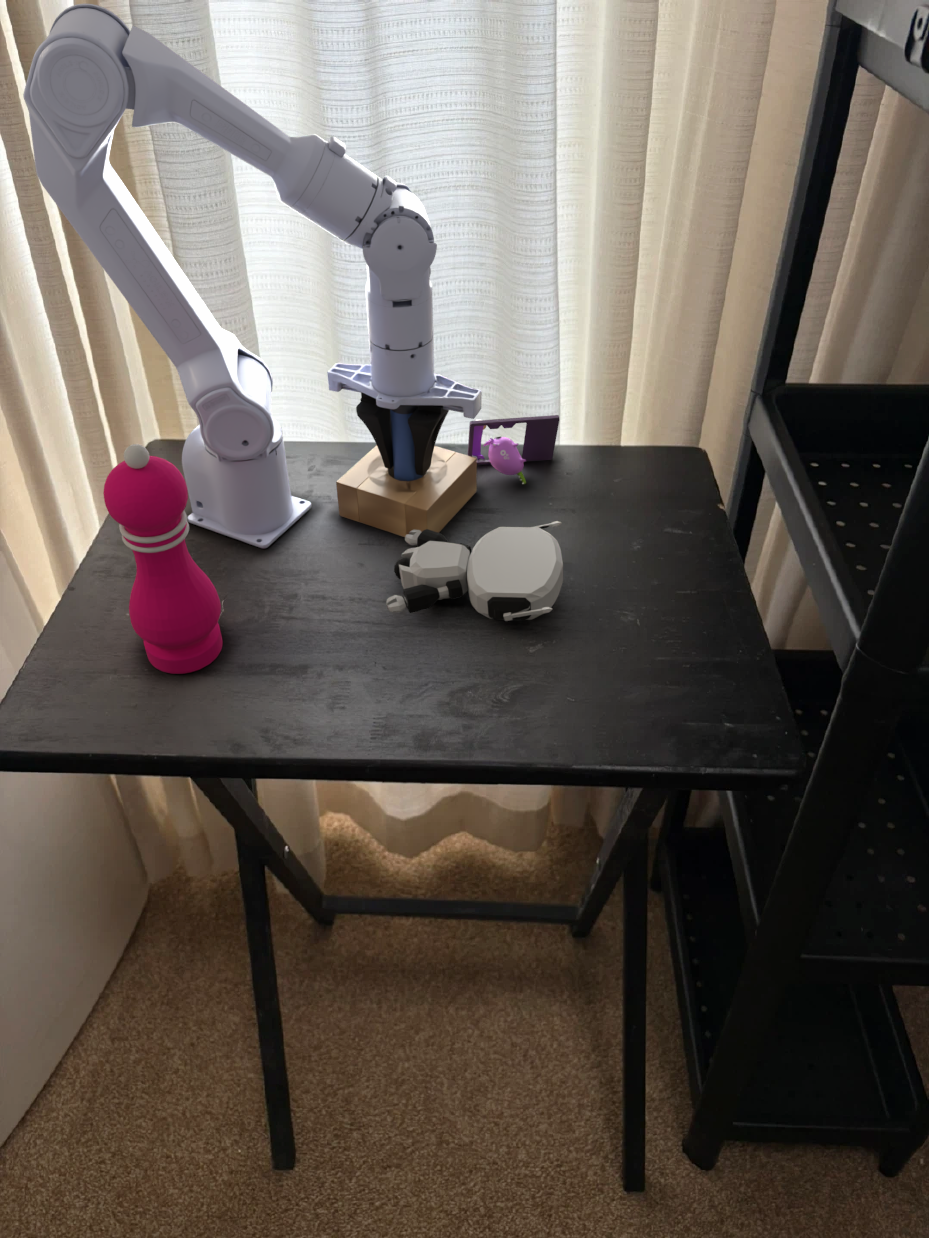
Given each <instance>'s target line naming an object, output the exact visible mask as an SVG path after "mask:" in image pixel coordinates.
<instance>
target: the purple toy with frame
mask: <svg viewBox="0 0 929 1238" xmlns="http://www.w3.org/2000/svg"><path fill="white" fill-rule="evenodd" d="M516 424H525V430H524V431H525V432H524V437H523V438H524V440H523V446H522V452H521V453H522V454H520V452H519V449H518V448H517V446H518V445H519V443H516V442H515V441H513V440H512V439H511V438H509V437H505V436H502V435H501V436H497V437H494V438H492V437H490V438H489V439H488V440H487V441H485V442H484V443H483V447H486V446H488V450H487V451H488V453H487V455H488V459H485V456H484V455H483V454H482V437H483V434H484V430H485V429H486V428H487V427H488V429H489V430H498V429H499V428H500V427H502V428H503V429H512V428H513V427H514V426H515V425H516ZM559 425H560V415H559V414H552V415H539V416H538V415H537V416H524V417H509V418H496V419H495V418H493V419H480V418H477V419H474V420H471V421H469V426H468V439H467V441H468V442H467V455H468V456H471V457H475V458H477V466H482V465H491V466H492V467H493V468H494V469H495V470H496V471H498V473H500V474H503V475H506V476H515V475H517V476H518V477H517V478H518V479H519V480H518V481H520V482H521V485H526V484H527V481H526V477H525V475H524V473H523V472H522V471H523V470H524V468H525V467H524V463H526V462H536V461H537V462H539V461H551V460H553V458H554V452H555V447H556V441H557V436H558V430H559Z"/></svg>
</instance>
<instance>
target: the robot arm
mask: <svg viewBox="0 0 929 1238" xmlns="http://www.w3.org/2000/svg"><path fill="white" fill-rule="evenodd" d="M30 63H31V64H30V68H29V72H28V75H27V79H26V83H25V85H24V91H23V100H24V102H25V106H26V108H27V112H28V117H29V125H30V126H29V127H30V133H31V141H32V150H33V158H34V167H35V172H36V173H35V174H36V176H37V178H38V180H39V182H40V184H41V186H42V187H43V188H44V190H45V191H46V192H47V194H48V195H49V197H50V198H51V199H52V201H53V202H54V203H55V205H56V206H57V207H58V209H59V210H60V211H61V213H62V214H63V216H64V217H65V218H66V220H67V221H68V222H69V224H70V225H71V227H72V228H73V230H74V231H75V232H76V233H77V235H78V237H80V239H81V241H82V242H83V243H84V245H86V247H87V248H88V250H89V251H90V252H91V254H92V255H93V257H94V258H95V259H96V261H97V262H98V263H99V265H100V266H101V268H102V269H103V270H104V271H105V273H106V275H108V277H109V279H110V280H111V281H112V282H113V284H114V285H115V286H116V288H117V289H118V291H119V292H120V293H121V295H122V296H123V298H124V299H125V300H126V301H127V303H128V304H129V305H130V307H131V308H132V310H133V311H134V312H135V314H136V315H137V317H138V318H139V319H140V320H141V322H142V323H143V325H144V326H145V328H146V329H147V330H148V331H149V333H150V335H151V336H152V337H153V338H154V340H155V341H156V343H157V344H158V345H159V346H160V348H161V349H162V351H163V352H164V354H165V355H166V356H167V358H168V359H169V360H170V361H171V363H172V365H174V367H175V369H176V371H177V374H178V377H179V380H180V383H181V386H182V390H183V393H184V395H185V398H186V401H187V403H188V405H189V407H190V408H191V410H192V411H193V412H194V414H195V415H196V418H197V419H198V420H197V421H198V423H199V424H198V425H197V426H196V427H194V428H193V429H192V430H191V432H190V433H189V434H188V435H187V436H186V437H187V438H186V439H185V441H184V444H183V447H182V452H181V467H182V471H183V477H184V479H185V482H186V485H187V490H188V500H189V502H190V507H191V513H190V514H189V515H187V522H188V523H190V524H193V525H196V526H198V527H200V528H204V529H206V530H209V531H212V532H215V533H218V534H220V535H223V536H227V537H229V538H231V539H235V540H238V541H240V542H243V543H246V544H249V545H252V546H254V547H258V548H260V549H267V548H269V547H270V546H271V545H272V544H273V543H274V542H275V541H277V539H278V538H279V537H281V536H282V535H283V534H284V533H285V532H286V531H287V530H288V529H290V528H291V527H292V526H293V525H294V524H295V523H296V522H297V521H298V520H299V519H300V518H302V517H303V516H304V515H305V514H306V513H307V512H308V511H310V510H311V509H312V507H313V506H312V502H311V501H309V500H306V499H303V498H300V497H297V496H294V495H292V492H291V491H292V490H291V484H290V477H289V469H288V464H287V463H288V461H287V456H286V447H285V441H284V433H283V429H282V425H281V424H280V423H279V422H278V421H277V419H275V417H274V416H273V407H272V405H273V403H272V392H273V385H274V381H273V374H272V372H271V370H270V368H269V366H268V364H267V363H266V362H265V361H264V360H263V359H262V358H261V357H259V356H258V355H256V354H255V353H253V352H252V351H249V350H248V349H246V348H245V347H244V346H243V345H242V343H241V342H240V341H239V339H238V338H237V336H236V335H235V334H234V333H233V332H231V331H228V330H226V329H224V328H222V327H221V326H220V324H219V322H218V321H217V320H216V318H215V317H214V315H213V314H212V313H211V311H210V309H209V308H208V306H207V304H205V302H204V300H203V298H202V297H201V296H200V294H199V293H198V292H197V290H196V289H195V287H194V285H193V284H192V283H191V281H190V280H189V278H188V276H187V275H186V274H185V273H184V271H183V269H182V268H181V267H180V265H179V263H178V262H177V261H176V259H175V258H174V256H173V254H172V253H171V252H170V250H169V249H168V247H167V246H166V244H165V243H164V241H163V240H162V239H161V237H160V235H159V234H158V233H157V231H156V229H155V227H154V226H153V225H152V224H151V222H150V221H149V219H148V218H147V216H146V215H145V213H144V212H143V210H142V209H141V207H140V206H139V204H138V203H137V201H136V200H135V198H134V197H133V196H132V194H131V192H130V191H129V190H128V188H127V187H126V185H125V183H124V182H123V181H122V179H121V178H120V176H119V175H118V172H116V170H115V169H114V167H113V166H112V165H111V163H110V153H111V147H112V144H113V143H112V142H113V139H114V133H115V129H116V127H117V126H118V124H119V122H120V120H121V119H122V117H123V115H124V113H125V111H126V110H132V111H133V114H132V121H131V126H132V128H144V127H150V126H156V125H163V124H168V123H169V124H170V123H175V124H178V125H180V126H182V127H184V128H185V129H188V130H189V131H191V132H193V133H194V134H196V135H197V136H200V137H201V138H202V139H205V140H207V141H208V142H210V143H212V144H214V145H215V146H217V147H218V148H220V149H222V150H224V151H225V152H227V153H229V155H230V154H231V155H232V156H234V157H236V158H238V159H239V160H241V161H242V162H245V163H246V164H248V165H250V166H251V167H253V168H255V169H256V170H257V171H260V172H262V173H263V174H265V175H267V176H269V177H270V178H271V180H272V182H273V185H274V188H275V193H276V196H277V199H278V201H279V202H280V203H281V204H283V205H285V206H286V207H288V208H289V209H291V210H292V211H294V212H295V213H297V214H299V215H300V216H301V217H303V218H305V219H306V220H308V221H310V222H311V223H313V224H314V225H316V226H318V227H319V228H320V229H322V230H323V231H325V232H327V233H329V234H330V235H332V236H333V237H335V238H337V240H340V241H341V242H343V243H344V244H346V245H348V246H352V247H356V248H359V249H361V250H362V251H361V252H362V256H363V259H364V261H365V262H364V263H365V264H366V275H367V276H366V279H367V280H366V283H365V287H364V288H365V289H364V291H365V292H364V293H365V304H366V320H367V333H368V348H369V361H370V363H369V364H354V363H352V364H350V363H341V362H336V363H334V365H332V366H331V368H330V369H329V370H328V371H327V372H326V374H327V375H326V376H327V385H328V390H329V391H332V392H335V393H339V392H341V391H342V390H345V391H350V392H356V393H360V396H361V397H360V399H359V400H360V402H359V403H358V404H357V405H356V408H355V411H356V416H357V418H359V419H360V421H361V422H362V423H363V424H364V425H365V427H366V428H367V429H368V431H369V433H370V435H371V436H372V438H373V440H374V442H375V444H376V445H377V447H378V449H379V452H380V454H381V457H382V460H383V463H384V466H385V468H389V469H391V468H392V467H393V466H394V465H393V448H392V431H391V414H390V409H397V408H398V407H399V406H400V405H418V408H417V409H416V410H415V411H414V412H413V413H412V414H411V416H410V417H409V418H408V425H409V427H410V430H411V434H412V438H413V443H414V450H415V471H416V474H417V475H421V476H423V475H424V474H425V473H426V471H427V470H428V469H429V467H430V466H431V460H432V455H433V450H434V446H436V442H437V439H438V436H439V435H440V434H439V433H440V431H441V428H442V426H443V423H444V421H445V419H446V418H447V415H448V414H449V412H450V411H452V412H457V413H462V415H463V417H464V418H467V419H471V420H475V418H476V417H477V416H478V415H479V413H480V411H481V410H482V393H483V391H482V389H478V388H474V387H471V386H468V385H465V384H462V383H460V382H458V381H455V380H453V379H450V378H449V377H446V376H444V375H441V374H439V373H437V372H435V343H434V340H435V339H434V338H435V337H434V307H433V306H434V304H433V303H434V301H433V284H432V281H431V274H432V268H431V267H432V265H433V262H434V260H435V258H436V255H437V250H438V244H437V243H436V242H435V237H434V233H433V232H434V231H433V229H432V226H431V222H430V220H429V217H428V214H427V212H426V209H425V206H424V205H423V203H422V201H421V200H420V198H419V197H418V196H417V194H415V193H414V192H413V191H412V190H411V189H410V187H409V186H408V185H407V184H404V183H401V182H396V180H395V179H393V178H391V177H390V176H389V175H387V174H385V176H383V178H381V177H380V176H378V175H377V174H375V173H373V172H372V171H370V170H369V169H368V168H366V167H365V166H363V165H362V164H361V163H359V162H358V161H356V160H354V159H353V158H352V157H350V156H349V155H347V154H346V153H347V148H346V144H345V143H344V142H343V141H341V140H340V139H339V138H337V137H336V136H334V135H331V136H330V137H329V139H328V140H325V139H323V138H322V137H321V136H319V135H318V134H317V133H309V134H305V135H298V136H290V135H288V134H286V132H284V131H283V130H281V129H280V128H279V127H277V126H276V125H275V124H273V123H272V122H271V121H269V120H268V119H267V118H265V117H263V116H262V115H261V114H260V113H258V111H255V110H254V109H253V108H251V106H249V105H247V104H246V103H245V102H243V101H242V100H241V99H239V98H238V97H236V96H235V95H233V94H232V93H231V92H229V91H228V90H227V89H225V88H224V87H222V86H221V85H220V84H219V83H218V82H217V81H214V80H213V79H211V78H210V77H209V76H208V75H206V74H205V73H204V72H202V71H201V70H199V69H198V68H196V67H195V65H193V64H192V63H190V62H188V60H186V59H185V58H183V56H181V55H179V54H178V53H177V52H176V51H174V50H173V49H171V48H169V46H167V45H166V44H164V43H163V42H162V41H160V40H159V39H158V38H156V37H155V36H154V35H152V34H151V33H150V32H148V31H145V30H144V29H142V28H140V27H137V26H135V25H132V26H131V28H130V27H129V26H128V25H127V24H126V23H125V22H124V20H122V19H121V18H120V17H119V16H118V15H117V14H116V13H115V12H113V11H111V10H110V9H108V8H106V7H104V6H101V5H98V4H93V3H77V4H74V5H71V6H69V7H67V8H65V9H63V11H61V12H60V13H59V14H58V15H57V16H56V18H55V19H54V21H53V23H52V26H51V28H50V30H49V33H48V35H47V36H46V39H44V40H43V41H42V42H41V43H40V44H39V46H38V47H37V49H36V50H35V52H34V55H33V57H32V59H31V62H30ZM376 445H375V446H376Z"/></svg>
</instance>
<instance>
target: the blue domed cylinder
mask: <svg viewBox="0 0 929 1238" xmlns="http://www.w3.org/2000/svg"><path fill="white" fill-rule="evenodd" d="M417 408H418V405H400V406H399V407H398V408H397V409H390V414H391V431H392V448H393V465H394V479H396V480H399V481H413V480H417V479H419V478H422V477H423V476H421V475H417V474H416V471H415V450H414V443H413V438H412V434H411V430H410V427H409V425H408V418H409V417H410V416H411V414H412V413H413V412H414V411H415V410H416V409H417Z"/></svg>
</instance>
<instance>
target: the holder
mask: <svg viewBox="0 0 929 1238" xmlns="http://www.w3.org/2000/svg"><path fill="white" fill-rule="evenodd" d="M477 461H478V459H477V457H476V456H472V457H471V456H468V454H465V453H464V454H463V453H461V452H457V451H454V450H451V449H447V448H444V447H441V446H436V445H435V446H434V450H433V455H432V460H431V466H430V467H429V469H428V470H427V471H426V473H425V474H424V475H423V477H422V478H419V479H417V480H413V481H399V480H396V479H394V466H393V467H392V468H391V469H389V468H385V466H384V463H383V460H382V457H381V454H380V452H379V449H378V447H377V445H375V446H374V447H372V449H370V451H368V452H367V453H366V454H365V455H364V456H363V457H362V458H361V459H359V460H358V461H357V462H356V463H355V464H354V465H353V466H352V467H351V468H350V469H349V470H347V471H346V472H345V473H344V474H343V475H342V476H341V477H339V479H337V480H336V482H335V485H336V486H335V487H336V494H337V505H338V514H339V517H342V518H346V519H348V520H351V521H354V522H358V523H361V524H364V525H367V526H370V527H373V528H376V529H378V530H382V531H384V532H388V533H391V534H394V535H397V536H400V537H403V538H405V536H406V535H407V534H409V532H410V531H412V530H420V531H421V532H422V531H423V530H426V529H428V530H431V531H435V532H438V533H441V531H442V530H443V529H444V528H445V527H446V526H447V525H448V523H449V522H450V521H451V520H452V519H453V518H454V517H455V516H456V514H457V513H458V512H459V511H460V510H461V509H463V507H464V506H465V505H466V504H467V502H469V501H470V500H471V499H472V497H473V496H474V495H475V494H476V493H477V491H478V489H477V488H478V487H477V486H478V484H477V483H478V481H477V480H478V476H477V474H478V473H477V472H478V470H477V469H478V465H477Z"/></svg>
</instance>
